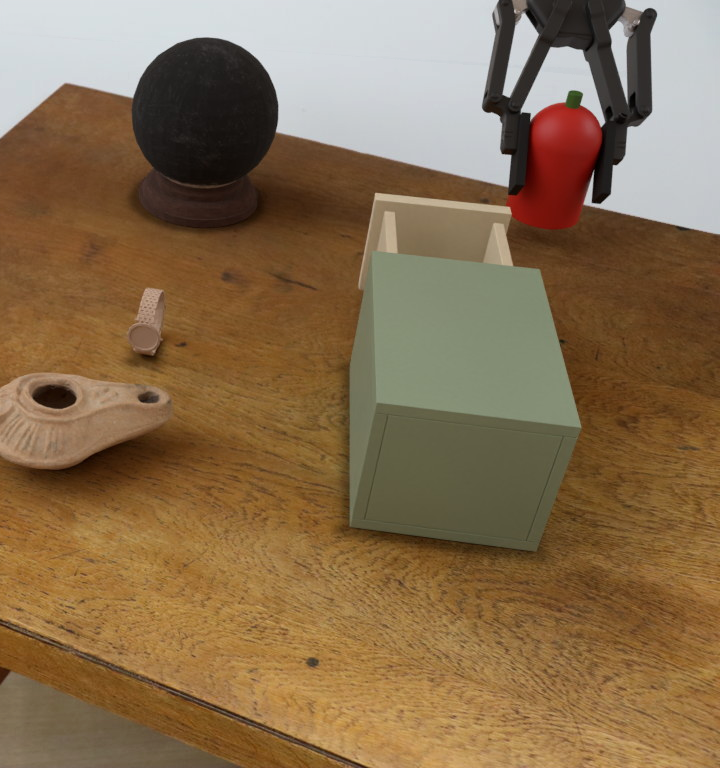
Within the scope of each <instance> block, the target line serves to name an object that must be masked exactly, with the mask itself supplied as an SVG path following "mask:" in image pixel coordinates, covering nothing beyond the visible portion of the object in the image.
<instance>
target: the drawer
mask: <svg viewBox="0 0 720 768" xmlns="http://www.w3.org/2000/svg"><path fill="white" fill-rule="evenodd" d="M511 215H512V213H511V209H510V207H506V205H505V206H504V205H496V204H495V205H493V204H487V203H486V204H485V203H477V202H468V201H459V200H450V199H449V200H448V199H440V198H438V199H437V198H431V197H421V196H411V195H402V194H393V193H380V192H375V193H374V197H373V203H372V208H371V214H370V219H369V225H368V230H367V235H366V239H365V245H364V252H363V257H362V262H361V267H360V272H359V278H358V290H359V291H364V288H365V283H366V278H367V273H368V267H369V262H370V257H371V252H372V251H380V252H389V253H398V254H407V255H416V256H425V257H434V258H443V259H452V260H461V261H470V262H479V263H489V264H498V265H507V266H514V263H513V259H512V254H511V250H510V246H509V242H508V237H507V233H508V230H509V226H510V223H511V219H512V216H511Z"/></svg>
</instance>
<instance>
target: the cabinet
mask: <svg viewBox="0 0 720 768" xmlns="http://www.w3.org/2000/svg"><path fill="white" fill-rule="evenodd" d="M349 362H350V363H349V527H350V528H355V529H362V530H369V531H376V532H385V533H392V534H400V535H407V536H414V537H421V538H428V539H429V538H430V539H436V540H437V539H438V540H443V541H444V540H445V541H453V542H459V543H466V544H467V543H468V544H475V545H481V546H489V547H496V548H497V547H498V548H504V549H505V548H506V549H512V550H519V551H527V552H533V553H536V552H537V551H538V549H539V545H540V543H541V540H542V537H543V535H544V532H545V529H546V527H547V523H548V521H549V518H550V516H551V513H552V510H553V508H554V504H555V502H556V500H557V499H556V498H557V497H558V493H559V490H560V488H561V485H562V482H563V480H564V477H565V474H566V471H567V468H568V466H569V463H570V460H571V458H572V455H573V452H574V450H575V447H576V444H577V441H578V439H579V436H580V434H581V431H582V424H581V420H580V417H579V413H578V409H577V405H576V401H575V397H574V394H573V389H572V386H571V381H570V378H569V374H568V370H567V367H566V363H565V359H564V355H563V352H562V348H561V345H560V340H559V337H558V333H557V329H556V325H555V321H554V318H553V315H552V309H551V306H550V302H549V299H548V296H547V291H546V288H545V283H544V280H543V275H542V272H541V269H540V268H533V267H524V266H516V265H513V266H507V265H498V264H489V263H479V262H470V261H461V260H452V259H443V258H434V257H425V256H416V255H407V254H398V253H389V252H380V251H372V252H371V257H370V262H369V267H368V273H367V278H366V283H365V288H364V290H363V293H362V298H361V304H360V309H359V315H358V319H357V326H356V330H355V335H354V340H353V346H352V351H351V357H350V361H349Z"/></svg>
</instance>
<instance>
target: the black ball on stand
mask: <svg viewBox="0 0 720 768" xmlns="http://www.w3.org/2000/svg"><path fill="white" fill-rule="evenodd" d="M131 123H132V130H133V135H134V137H135V141H136V144H137V146H138V148H139V149H140V151H141V154H143V156H144V158H145V160H146V161H147V162H148V163H149V165H151V167H152V169H150V171H149V172H148V173H147V175H145V176H144V178H143V179H142V180H141V181H140V183H139V186H138V199H139V202H140V204H141V206H142V207H143V208H144V209H145V210H146V212H148V213H150V214H151V215H153V216H154V217H155V218H157V219H159V220H162V221H164V222H168V223H170V224H174V225H178V226H183V227H189V228H190V227H191V228H203V229H204V228H207V229H208V228H220V227H226V226H230V225H231V226H232V225H234V224H237V223H240V222H242V221H244V220H246V219H248V218H249V217H250V216H252V215H253V214H254V213H255V211H256V209H257V207H258V201H259V192H258V189H257V187H256V186H255V184H254V183H253V180H252V179H251V178H250V176H249V175H248V174H250V173H251V172H252V171H253V170H254V169H255V168H257V167H258V166H259V164H260V163H261V162H262V161H263V159H264V158H265V157H266V156H267V154H268V152H269V150H270V149H271V147H272V143H273V142H274V140H275V137H276V134H277V129H278V124H279V100H278V95H277V91H276V88H275V85H274V83H273V81H272V79H271V76H270V74H269V72H268V71H267V69H266V68H265V66H264V65H263V64H262V62H261V61H260V60H259V59H258V58H257V57H256V56H254V54H252V53H251V52H250V51H249V50H247V49H246V48H244V47H243V46H242V45H239V44H236V43H234V42H232V41H230V40H227V39H223V38H218V37H209V36H207V37H194V38H189V39H186V40H182V41H179V42H176V43H175V44H173V45H171V46H170V47H168V48H167V49H165V50H164V51H163V52H160V53H159V54H158V55H157V56H156V57H155V58H154V59H153V60H152V61H151V62H150V63H149V64H148V66H146V68H145V70H144V71H143V73H142V74H141V76H140V78H139V80H138V83H137V85H136V88H135V91H134V94H133V97H132V104H131Z"/></svg>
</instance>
